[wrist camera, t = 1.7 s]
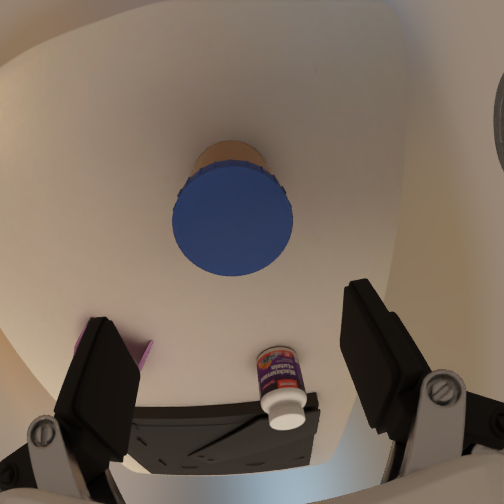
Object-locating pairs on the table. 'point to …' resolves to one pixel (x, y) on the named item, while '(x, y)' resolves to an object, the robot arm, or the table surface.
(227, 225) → the jar lid
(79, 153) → the table surface
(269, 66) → the table surface
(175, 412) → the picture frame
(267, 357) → the pill bottle
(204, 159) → the jar
